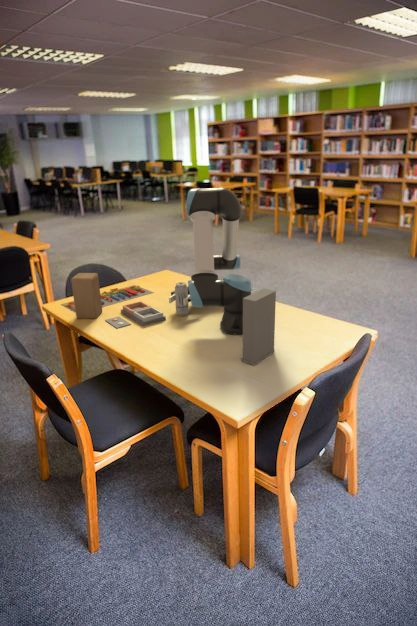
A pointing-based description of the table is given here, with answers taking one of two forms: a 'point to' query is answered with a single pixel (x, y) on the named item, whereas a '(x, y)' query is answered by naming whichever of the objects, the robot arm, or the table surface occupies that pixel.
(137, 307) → the socket plate
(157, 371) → the table surface
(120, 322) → the grey button plate
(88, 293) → the wooden block
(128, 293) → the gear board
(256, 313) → the upright grey panel
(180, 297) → the energy drink can
